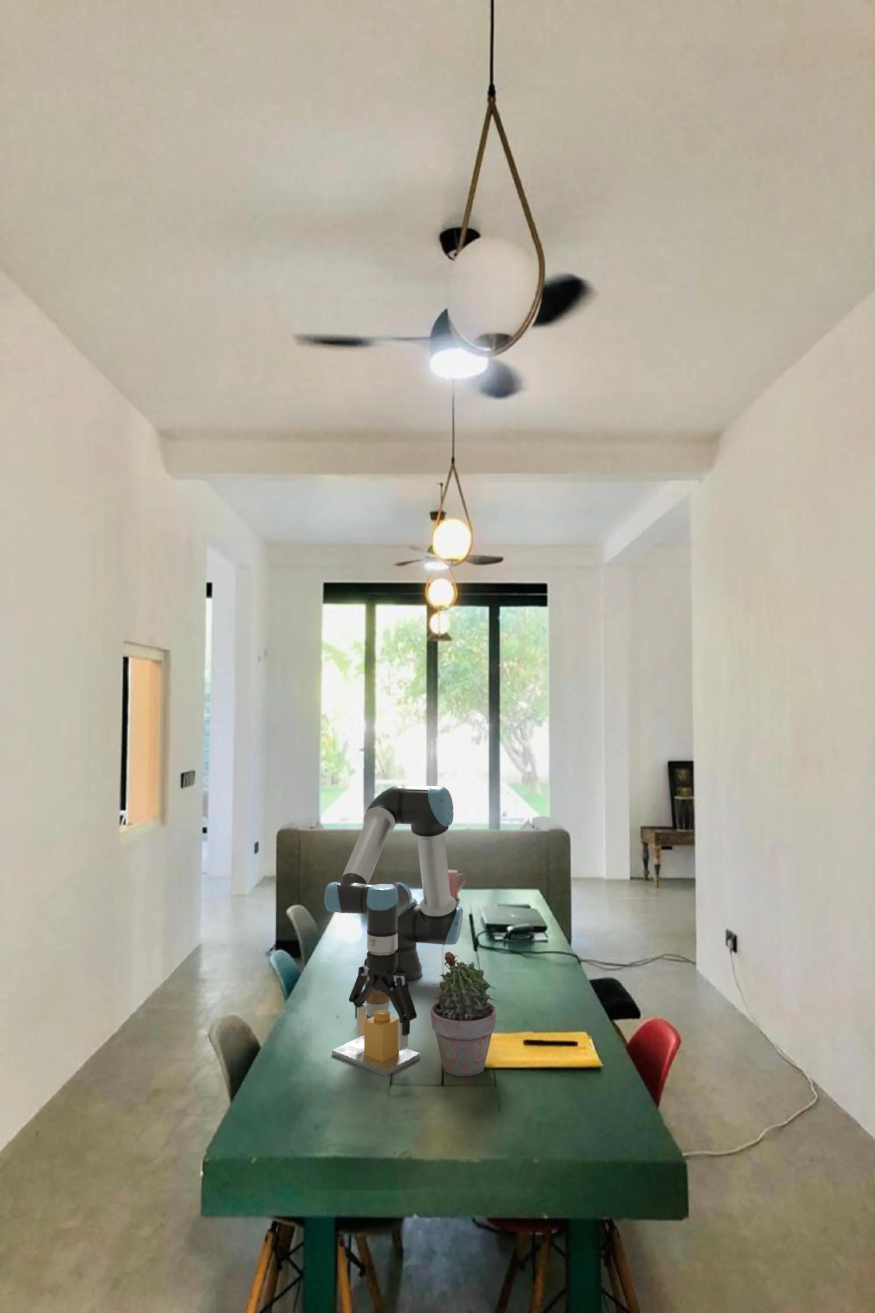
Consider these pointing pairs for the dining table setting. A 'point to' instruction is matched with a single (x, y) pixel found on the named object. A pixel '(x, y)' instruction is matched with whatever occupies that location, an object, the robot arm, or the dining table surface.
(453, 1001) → the potted plant
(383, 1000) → the coffee cup
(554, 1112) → the dining table surface
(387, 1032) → the orange knobbed block
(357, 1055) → the plate
